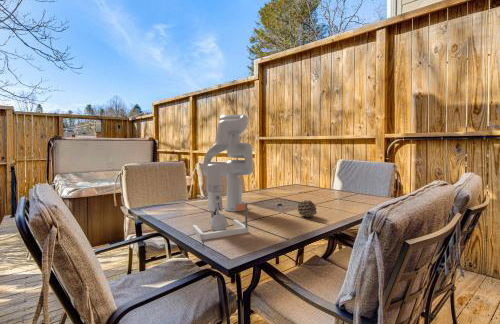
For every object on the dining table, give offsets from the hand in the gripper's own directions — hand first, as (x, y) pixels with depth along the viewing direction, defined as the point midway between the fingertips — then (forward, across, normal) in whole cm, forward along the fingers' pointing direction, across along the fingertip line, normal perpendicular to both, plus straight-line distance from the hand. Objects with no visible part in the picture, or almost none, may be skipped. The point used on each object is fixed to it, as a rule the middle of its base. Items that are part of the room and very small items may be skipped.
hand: (214, 223), depth 142 cm
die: (+2, -7, 0) cm, 7 cm away
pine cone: (+2, -2, -53) cm, 53 cm away
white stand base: (+2, -7, 0) cm, 7 cm away
